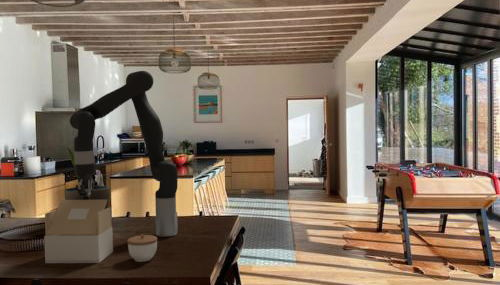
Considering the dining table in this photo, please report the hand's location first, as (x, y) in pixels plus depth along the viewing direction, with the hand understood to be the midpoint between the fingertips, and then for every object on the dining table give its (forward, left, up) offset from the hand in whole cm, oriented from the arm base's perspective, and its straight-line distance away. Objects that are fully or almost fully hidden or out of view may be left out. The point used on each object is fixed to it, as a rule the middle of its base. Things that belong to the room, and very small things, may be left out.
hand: (86, 205), depth 167 cm
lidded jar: (-25, +10, -19) cm, 33 cm away
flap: (0, +8, -3) cm, 9 cm away
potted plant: (+20, -47, -19) cm, 54 cm away
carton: (0, +7, -19) cm, 20 cm away
